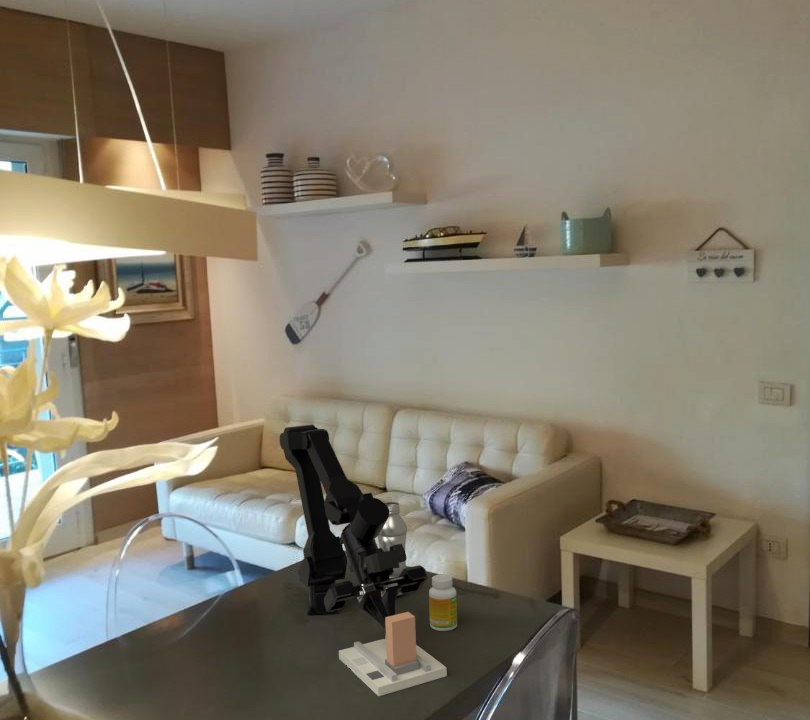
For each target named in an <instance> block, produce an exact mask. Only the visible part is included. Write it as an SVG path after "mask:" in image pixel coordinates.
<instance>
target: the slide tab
mask: <svg viewBox="0 0 810 720" xmlns="http://www.w3.org/2000/svg"><path fill="white" fill-rule="evenodd" d="M385 624H386V630H385V634H386V650H387V659H385V664H386V665H387V666H388V667H389V668H390V669H391V670H393V671H394V672H395V673H396V674H397V675H400V674H404V673H407V672H411V671H414V670H417V669H419V662H418V661H417V660H416V645H417V641H416V640H417V637H416V636H417V635H416V634H417V633H416V616H415V615H413V614H412V613H410V612H409V611H406V612H402V613H398V614H395V615H393V616H389V617H385Z"/></svg>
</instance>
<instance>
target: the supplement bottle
mask: <svg viewBox="0 0 810 720" xmlns="http://www.w3.org/2000/svg"><path fill="white" fill-rule="evenodd" d="M431 586H432V587H430V589H429V591H428V600H429V601H428V603H429V604H428V605H429V608H428V609H429V625H430V626H429V627H431V629H433V630H435V631H438V632H439V631H441V632H447V631H452V630H454V629H456V628H457V627H458V603H457V602H458V601H457V590H456V588H455V587H454V586H453V576H451V575H448V574H443V573H441V574H436V575H434V576H432V577H431Z"/></svg>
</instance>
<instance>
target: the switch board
mask: <svg viewBox="0 0 810 720" xmlns="http://www.w3.org/2000/svg"><path fill="white" fill-rule="evenodd" d="M384 635H385V638H382V639H378V640H374V641H371V642H366V643H362V642H360V641H355V642H353V646H351V647H347V648H344V649H340V650H338V659H339V660H340V661H341V662H342V663H343V664H344V665H345V666H346V665H347V668H348V669H349V668H350V669H351V670H350V669H349V670H350V671H352V673H354V675H355V676H357V678H359V679H360V680H361V682H363V683H364V684H365V685H366V686H367V687H368V688H370V689H371V691H372V692H373V693H374V694H375V695H377V696H378V697H381V696H384V695H388V694H391V693H394V692H399V691H403V690H406V689H409V688H411V687H416V686H418V685H421V684H424V683H425V684H426V683H428V682H432V681H435V680H438V679H441V678H442V679H443V678H445V677H447V676H448V674H447V673H448V671H447V667H446V666H445V665H444V664H442V663H441V662H440V661H439V660H437V659H436V658H434V657H433V656H432V655H431V654H429V653H428V652H426V650H425V649H423V648H422V647H420V646H419V645H417V644H416V660H417V661H418V662H419V669H417V670H414V671H411V672H407V673H404V674H400V675H397V674H396V673H395V672H394V671H393V670H391V669H390V668H389V667H388V666H387V665H386V664H385V659H387V650H386V633H385V634H384Z"/></svg>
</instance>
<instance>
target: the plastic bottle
mask: <svg viewBox="0 0 810 720" xmlns="http://www.w3.org/2000/svg"><path fill="white" fill-rule="evenodd" d="M384 503H385V505H387V506H388V508H389V517H388V520H387V521H386V523H385V525H384V526H383V528H382V530H381V532H380V533H379V535H378V536H377V541H378V546H379V547H378V548H382V549H383V551H384V552H386V551H390V546H393V545H397V544H402V546H403V548H404V550H405V551H406V541H407V532H408V526H407V523H406V522H405V520H404V518H403V517H402V516H401V515H400V513H401V509H400V503H399V502H398V501H397V502H396V501H387V502H384ZM406 564H407V563H406V561H404V562H401V563H399V566H400V567H399V568H393V570H394V572H393V574H392V575H390V576H389V578H394V577H399V575H400V574H401V572H402V571H403V569H404V568H407V565H406ZM402 595H403V594H402V593H400V592H399V594H398V595H397V597H398V596H399V597H400V596H402Z"/></svg>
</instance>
